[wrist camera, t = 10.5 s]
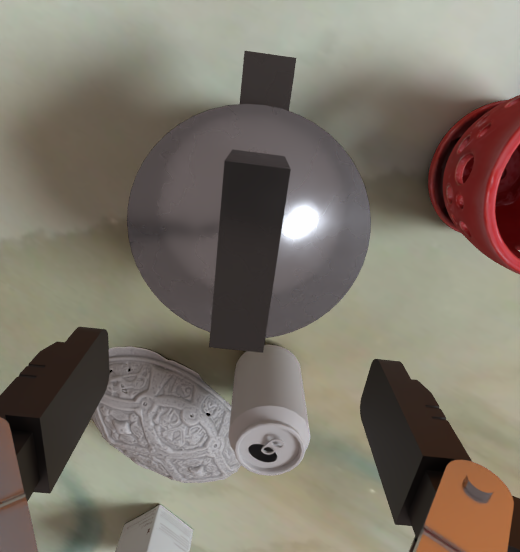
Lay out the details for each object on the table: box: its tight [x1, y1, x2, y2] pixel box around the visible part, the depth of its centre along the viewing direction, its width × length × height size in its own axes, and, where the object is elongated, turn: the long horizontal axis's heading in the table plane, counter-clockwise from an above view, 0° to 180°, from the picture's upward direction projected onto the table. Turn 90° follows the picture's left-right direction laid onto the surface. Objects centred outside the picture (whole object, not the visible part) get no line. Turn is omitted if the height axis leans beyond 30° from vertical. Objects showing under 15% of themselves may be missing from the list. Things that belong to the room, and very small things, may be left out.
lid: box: [127, 104, 371, 353], centre depth 22 cm, size 15×15×7 cm
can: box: [228, 344, 310, 475], centre depth 39 cm, size 8×8×12 cm
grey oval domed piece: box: [92, 346, 241, 483], centre depth 46 cm, size 16×25×7 cm, turn 47°
